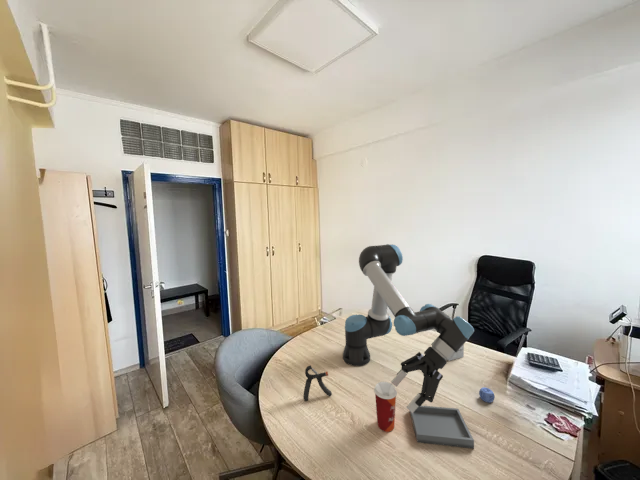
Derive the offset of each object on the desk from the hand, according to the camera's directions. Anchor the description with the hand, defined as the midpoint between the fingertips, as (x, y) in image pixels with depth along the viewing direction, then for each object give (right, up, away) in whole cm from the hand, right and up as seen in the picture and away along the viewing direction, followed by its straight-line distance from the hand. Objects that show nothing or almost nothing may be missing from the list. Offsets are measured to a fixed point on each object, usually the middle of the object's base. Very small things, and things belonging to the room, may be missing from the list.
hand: (400, 396), depth 92 cm
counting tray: (+14, -11, -1) cm, 18 cm away
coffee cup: (-5, -12, +2) cm, 13 cm away
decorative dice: (+40, -10, +13) cm, 44 cm away
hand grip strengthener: (-31, -12, +17) cm, 37 cm away
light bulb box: (+43, -7, +46) cm, 63 cm away
